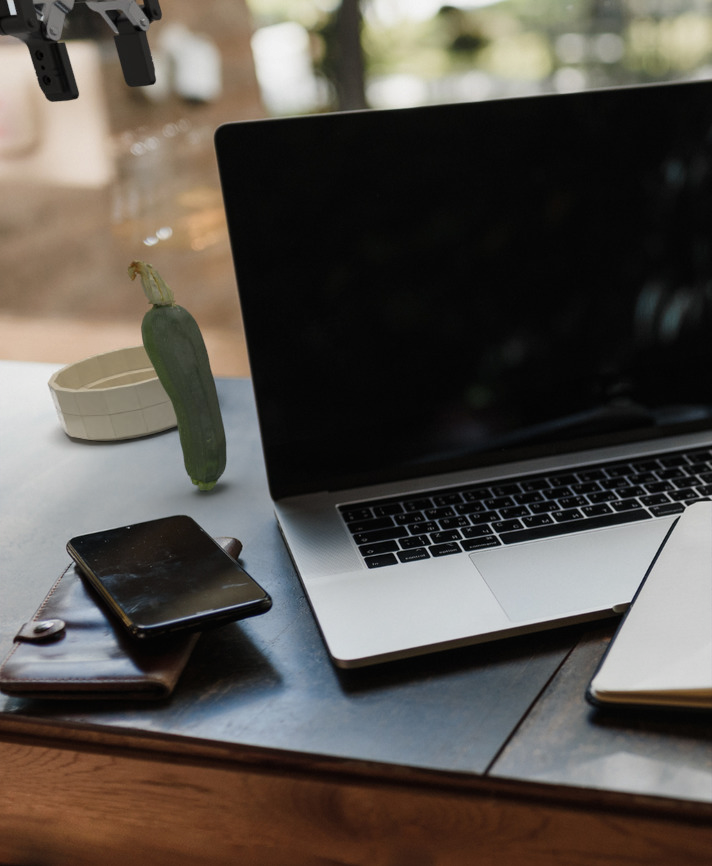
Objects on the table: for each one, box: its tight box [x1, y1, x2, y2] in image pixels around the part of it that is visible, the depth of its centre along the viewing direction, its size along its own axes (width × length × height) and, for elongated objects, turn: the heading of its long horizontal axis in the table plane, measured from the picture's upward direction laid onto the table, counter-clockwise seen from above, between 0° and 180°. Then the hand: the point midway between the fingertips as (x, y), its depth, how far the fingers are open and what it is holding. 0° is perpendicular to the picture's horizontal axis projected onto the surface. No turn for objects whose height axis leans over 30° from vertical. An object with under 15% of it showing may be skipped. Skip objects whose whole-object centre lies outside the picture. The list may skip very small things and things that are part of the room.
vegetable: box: [126, 259, 228, 492], centre depth 86 cm, size 4×4×20 cm
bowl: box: [47, 343, 178, 442], centre depth 108 cm, size 14×14×6 cm
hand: (104, 93), depth 78 cm, fingers open, 8 cm apart
